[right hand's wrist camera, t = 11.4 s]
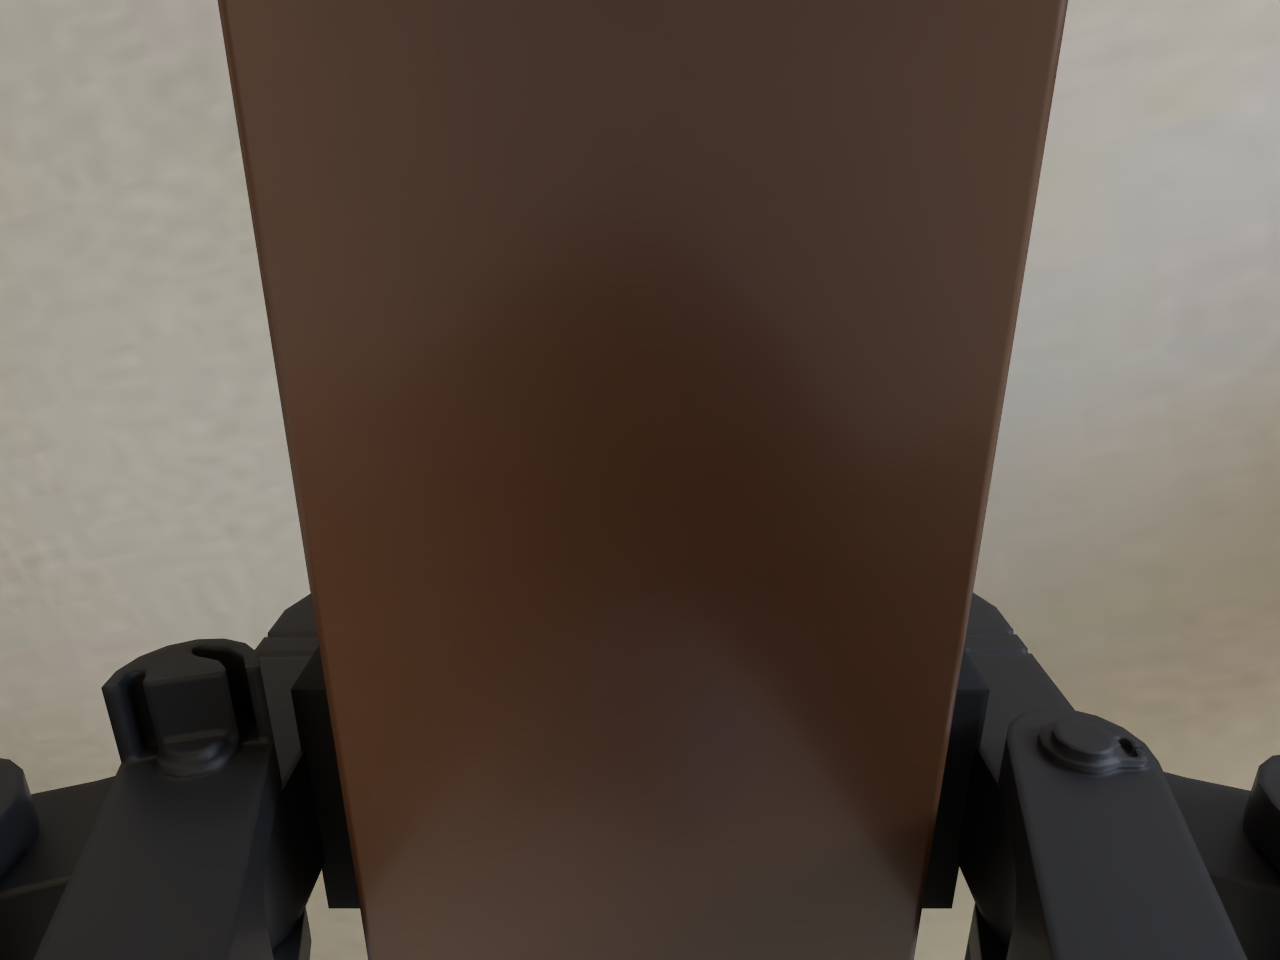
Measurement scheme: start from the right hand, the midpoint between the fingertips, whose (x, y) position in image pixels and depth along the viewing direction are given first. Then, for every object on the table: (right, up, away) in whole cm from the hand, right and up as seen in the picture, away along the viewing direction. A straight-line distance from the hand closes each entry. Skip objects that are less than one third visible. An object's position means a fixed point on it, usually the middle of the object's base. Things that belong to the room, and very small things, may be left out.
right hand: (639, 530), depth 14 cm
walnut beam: (0, +9, -3) cm, 10 cm away
